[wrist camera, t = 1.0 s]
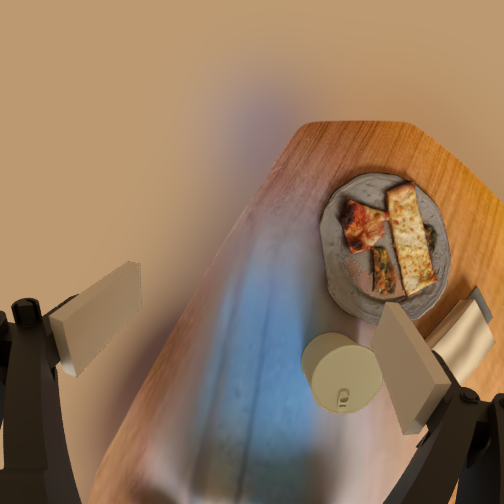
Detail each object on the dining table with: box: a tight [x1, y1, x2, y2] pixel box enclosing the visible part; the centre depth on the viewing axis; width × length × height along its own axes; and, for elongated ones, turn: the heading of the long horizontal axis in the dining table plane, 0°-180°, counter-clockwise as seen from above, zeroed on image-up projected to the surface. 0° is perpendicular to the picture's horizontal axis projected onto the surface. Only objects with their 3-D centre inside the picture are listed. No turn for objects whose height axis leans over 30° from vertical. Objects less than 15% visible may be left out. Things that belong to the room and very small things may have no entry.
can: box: [301, 332, 383, 414], centre depth 36 cm, size 9×9×12 cm
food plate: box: [319, 172, 451, 325], centre depth 42 cm, size 25×23×4 cm
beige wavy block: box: [424, 299, 495, 386], centre depth 38 cm, size 10×14×4 cm
